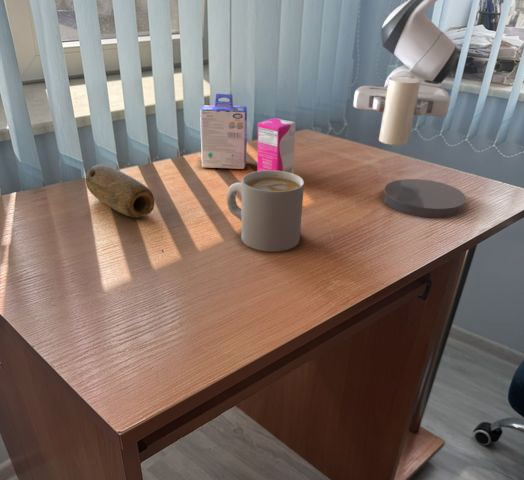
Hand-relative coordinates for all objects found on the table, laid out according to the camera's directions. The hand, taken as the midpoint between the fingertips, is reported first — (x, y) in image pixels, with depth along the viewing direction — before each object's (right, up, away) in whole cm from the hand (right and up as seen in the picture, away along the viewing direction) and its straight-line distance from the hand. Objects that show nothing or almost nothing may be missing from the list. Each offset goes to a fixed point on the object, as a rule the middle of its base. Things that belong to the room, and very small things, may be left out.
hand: (399, 109), depth 108 cm
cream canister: (0, -5, +5) cm, 7 cm away
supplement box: (-26, -13, +5) cm, 29 cm away
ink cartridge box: (-37, -8, +10) cm, 39 cm away
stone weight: (-55, -24, -11) cm, 61 cm away
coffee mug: (-28, -30, -18) cm, 45 cm away
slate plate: (+4, -20, -3) cm, 21 cm away
